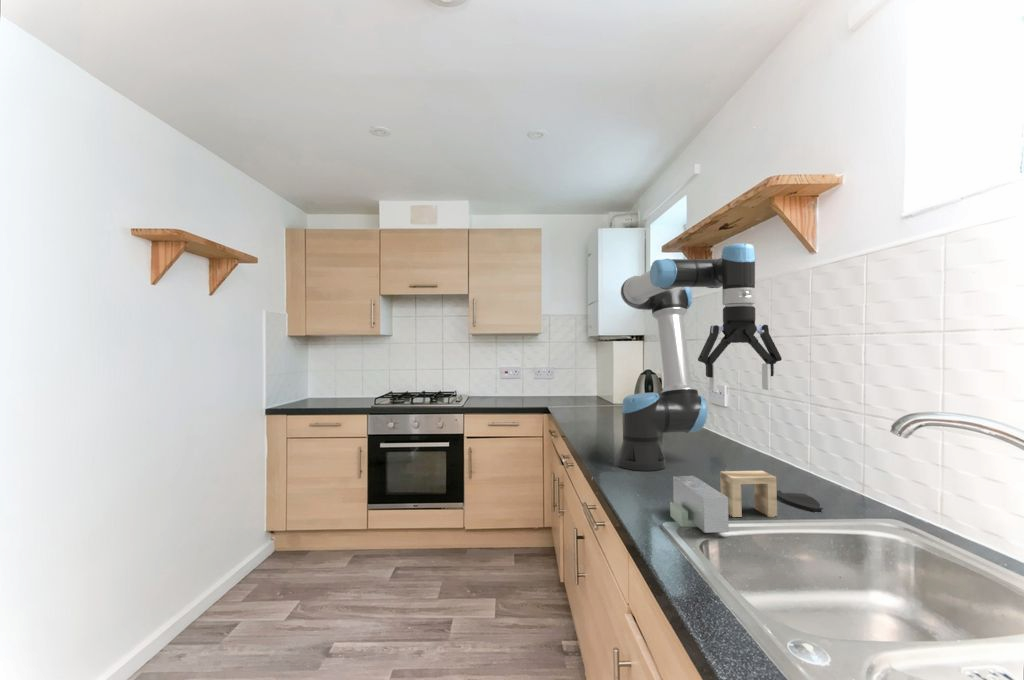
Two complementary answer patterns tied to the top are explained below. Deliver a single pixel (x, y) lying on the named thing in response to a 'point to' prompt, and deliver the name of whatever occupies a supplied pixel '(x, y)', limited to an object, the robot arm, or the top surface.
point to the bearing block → (762, 491)
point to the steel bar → (701, 503)
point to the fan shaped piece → (800, 501)
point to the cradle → (680, 515)
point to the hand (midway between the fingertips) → (739, 390)
